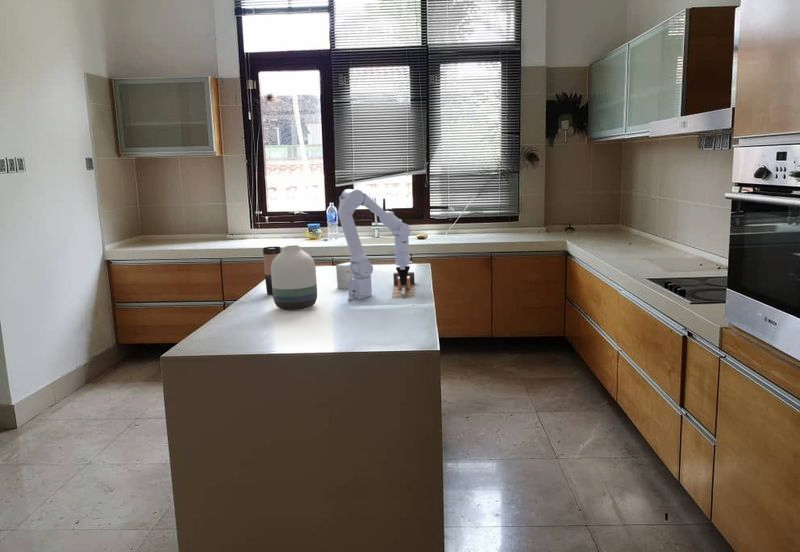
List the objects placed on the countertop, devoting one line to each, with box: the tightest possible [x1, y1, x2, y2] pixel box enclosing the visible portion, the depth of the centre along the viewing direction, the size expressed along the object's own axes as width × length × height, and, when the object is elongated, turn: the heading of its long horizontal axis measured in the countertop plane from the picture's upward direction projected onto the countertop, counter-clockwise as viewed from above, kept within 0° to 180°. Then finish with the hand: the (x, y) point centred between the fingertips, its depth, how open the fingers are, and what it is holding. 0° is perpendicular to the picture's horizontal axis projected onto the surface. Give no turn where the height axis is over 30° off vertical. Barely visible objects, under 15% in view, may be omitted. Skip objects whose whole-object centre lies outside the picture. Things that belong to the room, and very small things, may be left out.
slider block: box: [398, 276, 410, 289], centre depth 271 cm, size 6×5×4 cm
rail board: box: [391, 271, 416, 300], centre depth 267 cm, size 32×9×6 cm, turn 179°
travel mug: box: [262, 246, 282, 296], centre depth 278 cm, size 8×8×20 cm
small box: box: [335, 261, 354, 290], centre depth 285 cm, size 8×6×10 cm
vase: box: [271, 244, 318, 311], centre depth 246 cm, size 17×17×24 cm
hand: (403, 283), depth 268 cm, fingers closed
